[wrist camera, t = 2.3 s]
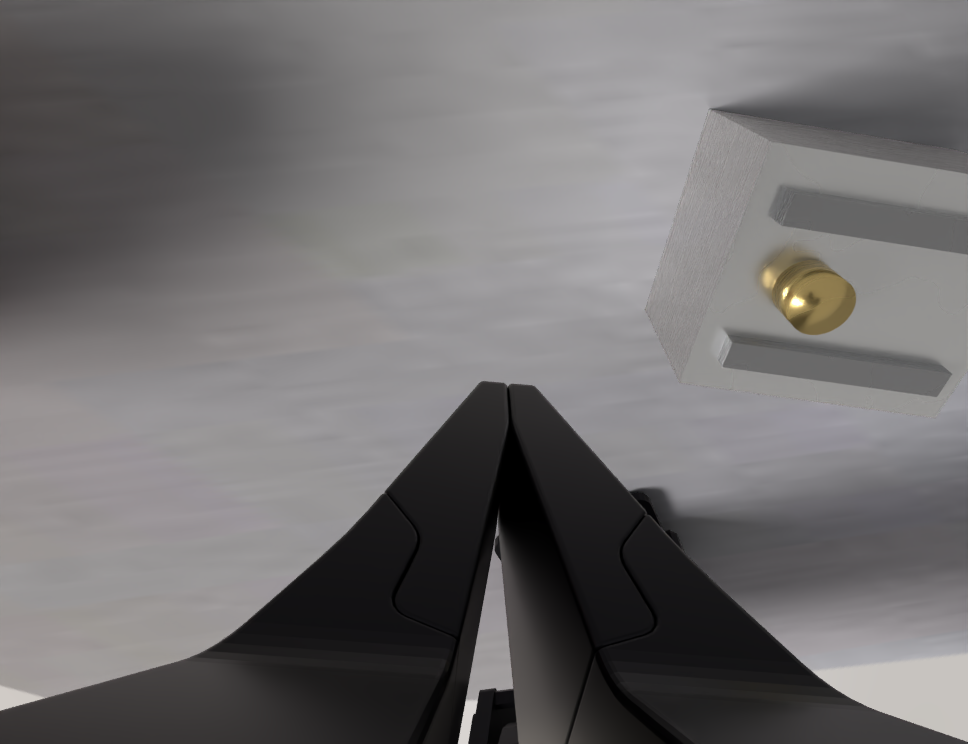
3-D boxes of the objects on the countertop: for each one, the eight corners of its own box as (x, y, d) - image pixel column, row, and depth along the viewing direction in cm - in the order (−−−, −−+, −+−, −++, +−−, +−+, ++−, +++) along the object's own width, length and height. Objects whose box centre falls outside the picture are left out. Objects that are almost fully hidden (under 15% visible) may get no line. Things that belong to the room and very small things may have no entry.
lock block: (643, 307, 19) (690, 405, 15) (707, 107, 16) (792, 152, 12) (850, 337, 20) (959, 442, 15) (951, 148, 17) (1128, 207, 12)
